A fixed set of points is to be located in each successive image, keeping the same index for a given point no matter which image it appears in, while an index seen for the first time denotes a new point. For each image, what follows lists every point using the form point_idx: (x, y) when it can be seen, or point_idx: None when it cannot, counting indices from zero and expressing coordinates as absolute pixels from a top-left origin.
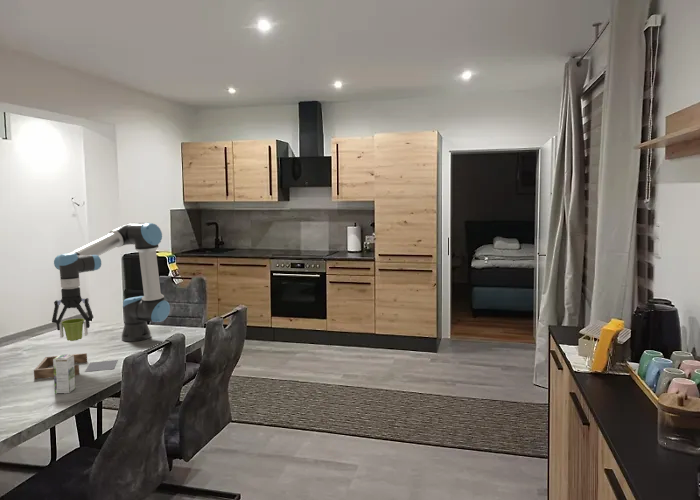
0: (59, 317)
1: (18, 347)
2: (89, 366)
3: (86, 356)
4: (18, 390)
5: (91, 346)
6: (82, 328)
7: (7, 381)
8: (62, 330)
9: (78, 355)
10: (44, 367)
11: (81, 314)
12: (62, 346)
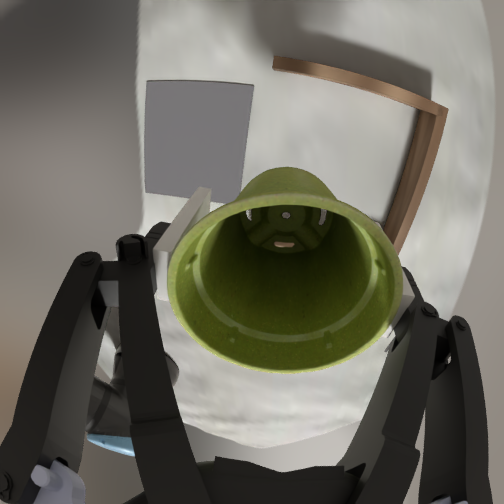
0: (429, 351)
1: None
2: (238, 152)
3: None
4: (461, 20)
5: None
6: (213, 238)
7: (490, 144)
8: None
9: (278, 243)
10: (399, 200)
11: (157, 329)
12: (312, 384)
